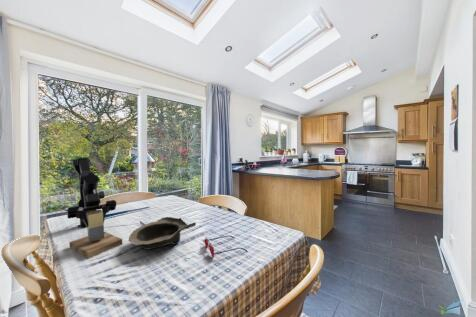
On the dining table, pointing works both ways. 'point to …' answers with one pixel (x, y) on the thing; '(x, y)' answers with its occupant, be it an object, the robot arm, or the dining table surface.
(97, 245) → the walnut stand
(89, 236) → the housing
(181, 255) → the dining table surface
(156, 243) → the stone bowl
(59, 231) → the dining table surface
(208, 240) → the glasses
